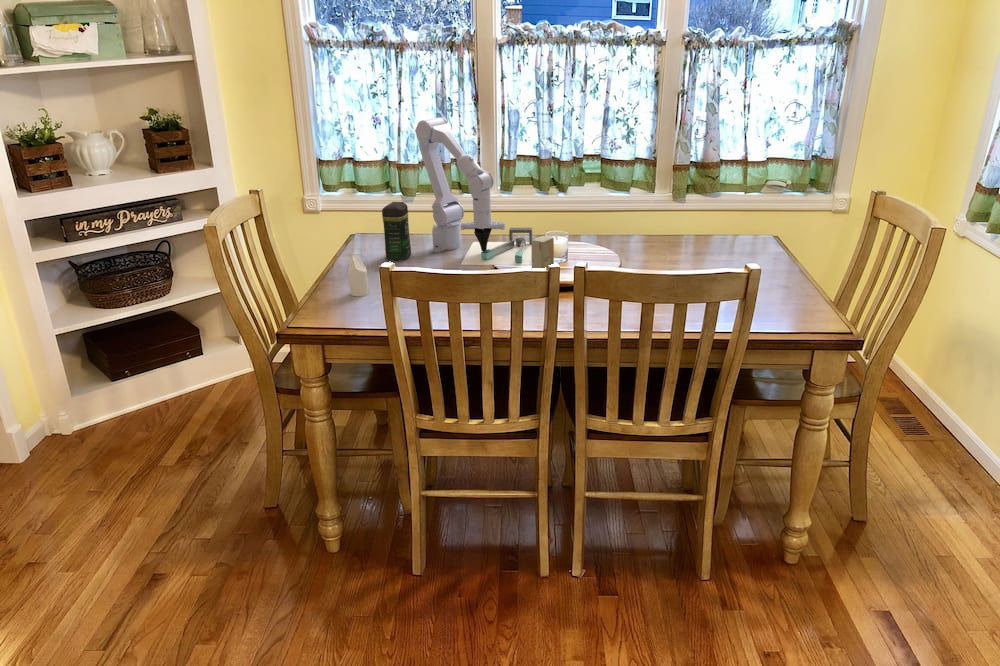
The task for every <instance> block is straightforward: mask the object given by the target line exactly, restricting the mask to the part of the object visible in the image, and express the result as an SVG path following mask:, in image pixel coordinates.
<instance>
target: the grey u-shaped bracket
mask: <svg viewBox="0 0 1000 666" xmlns="http://www.w3.org/2000/svg"><path fill="white" fill-rule="evenodd" d="M508 231H509V233H508V234H509V235H508V237H509V241H511V240H513V241H514V234H529V235H528V236H529V238H528V240H529V241H528V242H529V244H531V240H533V227H509V230H508Z"/></svg>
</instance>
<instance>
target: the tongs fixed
mask: <svg viewBox="0 0 1000 666" xmlns="http://www.w3.org/2000/svg"><path fill="white" fill-rule="evenodd" d="M515 242H516V246H518V247H520V248H519V251H518V252H516V254H515V262H522V261H523V253H524V250H525V247H526V242H527V240H525V238H524V237H518V238H515Z"/></svg>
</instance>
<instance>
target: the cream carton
mask: <svg viewBox="0 0 1000 666" xmlns="http://www.w3.org/2000/svg"><path fill="white" fill-rule="evenodd" d="M347 278H348V283H349V284H348V285H349V291H350V295H351V296H353V297H364V296H367V295H368V294H370V287H369V279H368V271H367V267H366V265H365V264H364V263H363V261H362V260H361V259H360V258H359V256H358V255H357V254H352V255H351V261H350V264H349V266H348V269H347Z"/></svg>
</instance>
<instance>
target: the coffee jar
mask: <svg viewBox="0 0 1000 666" xmlns="http://www.w3.org/2000/svg"><path fill="white" fill-rule="evenodd" d="M408 209H409V207H408V205H407V204H406V203H405V202H403V201H392V202H391V203H389V204H387V205H386V206H384V207H383V208H382V210H381V216H382V222H383V233H384V234H383V235H384V245H385V246H384V247H385V248H384V249H385V250H384V251H385V258H386V260H389V259H391V260H389V261H392V260H394V261H393V262H399V261H405V260H408V259H409V257H410V256H411V255H412V246H411V245H412V244H411V238H410V237H411V235H410V226H409V225H410V224H409V210H408Z"/></svg>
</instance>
